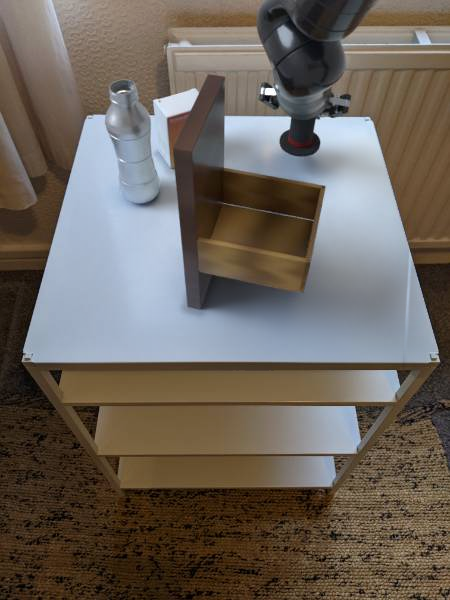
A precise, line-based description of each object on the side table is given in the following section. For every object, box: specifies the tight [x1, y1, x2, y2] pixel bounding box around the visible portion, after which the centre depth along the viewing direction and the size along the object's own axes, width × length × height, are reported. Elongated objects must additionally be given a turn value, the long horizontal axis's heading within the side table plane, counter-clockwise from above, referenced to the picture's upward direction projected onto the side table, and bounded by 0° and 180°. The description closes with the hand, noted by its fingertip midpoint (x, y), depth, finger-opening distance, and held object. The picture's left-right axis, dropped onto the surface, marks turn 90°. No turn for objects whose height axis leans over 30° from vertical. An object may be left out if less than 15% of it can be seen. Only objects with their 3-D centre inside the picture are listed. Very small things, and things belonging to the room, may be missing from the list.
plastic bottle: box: [104, 78, 161, 205], centre depth 77 cm, size 6×7×20 cm
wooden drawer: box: [173, 73, 327, 310], centre depth 63 cm, size 16×13×28 cm
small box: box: [152, 87, 200, 169], centre depth 87 cm, size 8×6×10 cm
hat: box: [278, 117, 321, 158], centre depth 83 cm, size 7×7×8 cm
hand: (305, 110), depth 83 cm, fingers closed on hat, 4 cm apart
